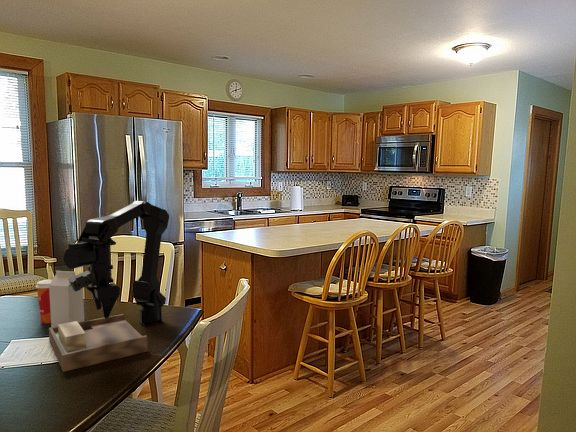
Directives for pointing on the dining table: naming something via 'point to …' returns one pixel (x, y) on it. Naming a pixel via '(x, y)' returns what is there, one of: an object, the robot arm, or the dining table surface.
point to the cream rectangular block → (72, 335)
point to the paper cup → (44, 300)
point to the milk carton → (65, 300)
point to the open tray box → (99, 343)
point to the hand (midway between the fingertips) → (102, 313)
